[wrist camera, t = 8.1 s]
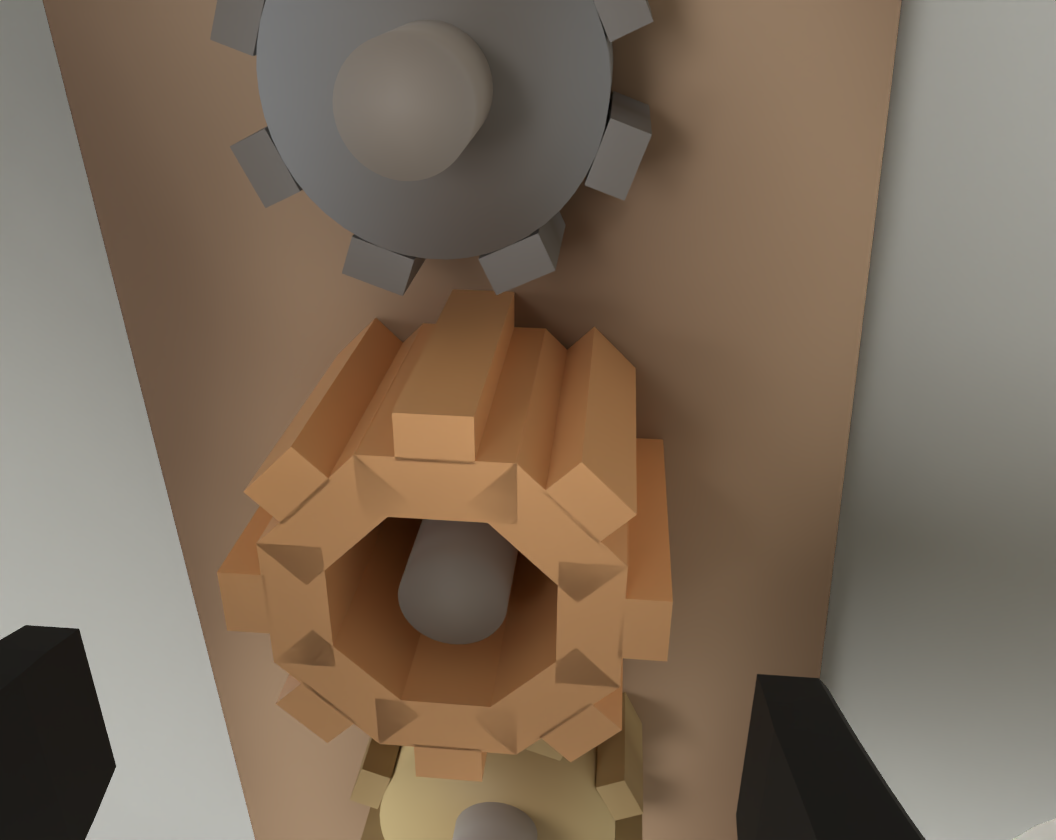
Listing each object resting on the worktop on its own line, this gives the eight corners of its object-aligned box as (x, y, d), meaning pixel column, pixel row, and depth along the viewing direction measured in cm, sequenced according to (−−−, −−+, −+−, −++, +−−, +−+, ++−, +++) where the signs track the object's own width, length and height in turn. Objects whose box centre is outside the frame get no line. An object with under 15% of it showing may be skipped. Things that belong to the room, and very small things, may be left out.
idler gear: (331, 585, 17) (250, 763, 13) (298, 283, 14) (186, 402, 11) (649, 605, 16) (654, 795, 13) (674, 298, 14) (689, 427, 10)
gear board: (286, 812, 22) (197, 1039, 17) (41, -258, 13) (-279, -356, 8) (782, 836, 20) (823, 1087, 16) (908, -323, 11) (1082, -483, 7)
